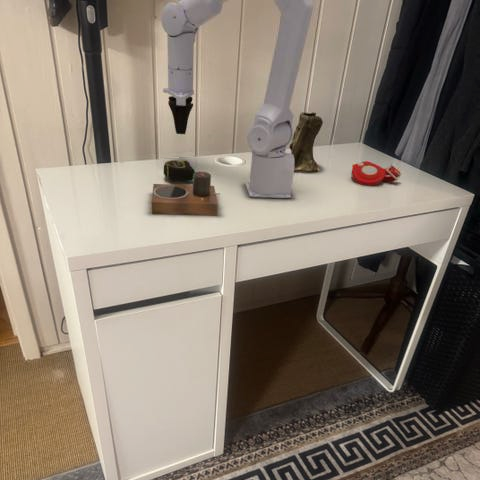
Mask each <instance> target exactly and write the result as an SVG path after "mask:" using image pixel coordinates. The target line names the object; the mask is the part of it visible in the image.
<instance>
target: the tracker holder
mask: <svg viewBox="0 0 480 480" xmlns="http://www.w3.org/2000/svg"><path fill="white" fill-rule="evenodd" d="M351 168H352V169H351V177H352V179H353V181H354V182H356V183H357V184H359V185H363V186H375V185H378V184H380V183H382V182H388V183H389V182H391V183H393V182H395V181H396V182H397V181H398V180H399V179H400V177H402V174H403V173H402V172H401V171H400V170H399V169H397V168H396V166H395V165H393V164H392V163H390V164H389V166H388V167H386V168H383V167H381V166H380V165H378V164H376V163H374V162H371V161H367V160H365V161H361V162H357V163H354V164H352V166H351Z"/></svg>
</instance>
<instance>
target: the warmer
mask: <svg viewBox="0 0 480 480" xmlns="http://www.w3.org/2000/svg"><path fill="white" fill-rule="evenodd" d="M162 186H177V187H181V188H184V189H186V190H187V191H188V195H187V196H186V197H184V198H180V199H163V198H160V197H157V196H155V195H154V190H155V189H156V188H158V187H162ZM151 194H152V195H151V214H154V215H191V216H192V215H193V216H197V215H198V216H218V205H219V204H218V198H217V195H219V196H220V195H221V193H220V192H218V193H217V192H216V187H215V185H210V195H209V196H206V197H199V196H195V195H194V194H193V184H174V183H173V184H172V183H171V184H170V183H153V185H152V193H151Z"/></svg>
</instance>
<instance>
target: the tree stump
mask: <svg viewBox="0 0 480 480" xmlns="http://www.w3.org/2000/svg"><path fill="white" fill-rule="evenodd" d="M323 123H324V121H323V119H322V117H321V116H319V115H317V112H310V113H308V112H306V111H305V112H300V114H299V119H298V124H297V125H296V127H295V130H294V131H293V137H292V139H291V142H290V143H289V149H290V152H291V154H293V156H294V171H298V170H302V171H313V172H316V171H317V172H320V171H321V169H320V167H319V165H318V162H316V160H315V158H314V145H315V141H316V137H317V136H318V134H319V132H320V131H321V129H322V126H323Z"/></svg>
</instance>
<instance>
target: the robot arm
mask: <svg viewBox="0 0 480 480" xmlns="http://www.w3.org/2000/svg"><path fill="white" fill-rule="evenodd" d="M228 1H229V0H180V1H179V2H178V3H175V2H167V4H166V5H165V6H164V7H163V9H162V11H161V16H160V20H161V21H160V22H161V25H162V26H161V27H162V28H163V30H164V32H165V33H166V34H167V35H166V37H167V39H166V40H167V87H163V88H162V92H163V93H164V94H168V95H170V96H168V106H169V109H170V112H171V115H172V118H173V125H174V130H175V133H176V135H186V132H187V128H188V121H189V117H190V114H191V111H192V110H193V108H194V103H193V96H194V95H195V90H194V57H195V56H194V52H195V51H194V50H195V42H196V35H197V33H198V31H200V27H201V26H203V25H204V24H205V23H207V22H209V21H210V20H212V19H214V18H216V17H217V16H218V15H220V14H221V12H222V9H223V5H224V3H226V2H228ZM273 1H274V3H275V5H276V7H277V9H278V10H279V12H280V15H281V17H280V21H279V27H278V32H277V37H276V41H275V46H274V51H273V55H272V61H271V65H270V71H269V75H268V80H267V85H266V91H265V95H264V100H263V103H262V105H261V107H259V109H258V110H257V112H256V114H255V117H254V121H253V123H252V124H251V126H250V127H249V129H248V132H247V136H246V138H247V144H248V146H249V148H250V150H251V162H250V173H249V182H245V187H246V190H247V194H248V196H249V197H250V198H271V199H272V198H273V199H274V198H275V199H291V198H292V187H293V182H294V181H293V180H294V175H295V174H294V173H295V170H294V156H293V154H291V153H290V152H286V151H287V146H288V145H290V144H291V142H292V140H293V136H294V128H293V120H294V114H293V112H292V110H291V108H290V107H291V103H292V98H293V95H294V90H295V86H296V82H297V78H298V77H297V76H298V74H299V70H300V65H301V61H302V57H303V53H304V49H305V46H306V45H305V44H306V40H307V37H308V32H309V27H310V24H311V19H312V14H313V10H314V2H313V0H273Z"/></svg>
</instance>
